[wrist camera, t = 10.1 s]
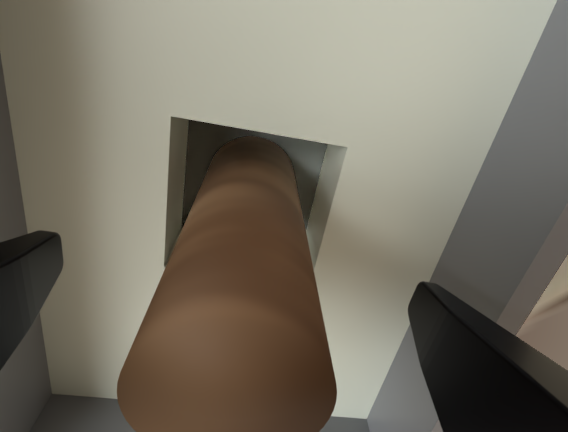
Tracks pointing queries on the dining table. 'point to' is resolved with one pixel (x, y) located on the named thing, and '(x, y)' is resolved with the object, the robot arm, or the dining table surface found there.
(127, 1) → the box
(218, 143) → the dining table surface
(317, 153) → the dining table surface
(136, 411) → the peg
